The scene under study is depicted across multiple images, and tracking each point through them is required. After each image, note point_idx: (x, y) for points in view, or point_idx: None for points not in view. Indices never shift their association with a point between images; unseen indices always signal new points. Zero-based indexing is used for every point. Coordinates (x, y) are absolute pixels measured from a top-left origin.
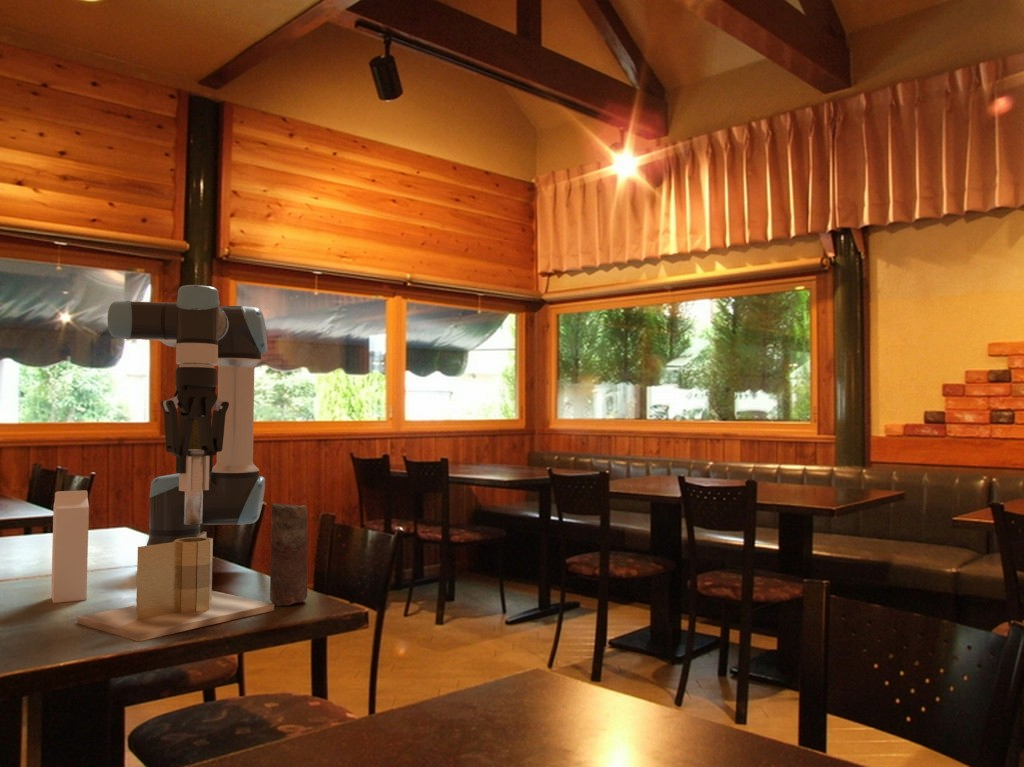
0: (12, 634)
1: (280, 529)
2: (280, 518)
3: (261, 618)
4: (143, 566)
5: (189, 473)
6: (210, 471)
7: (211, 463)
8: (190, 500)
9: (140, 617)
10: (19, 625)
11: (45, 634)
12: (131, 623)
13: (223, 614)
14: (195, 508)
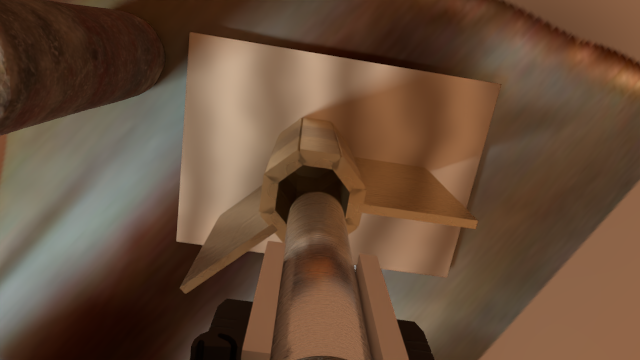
0: (531, 293)
1: (65, 48)
2: (40, 49)
3: (259, 4)
4: (448, 200)
5: (379, 301)
6: (232, 301)
7: (216, 329)
8: (348, 242)
9: (421, 168)
10: (487, 330)
11: (514, 253)
12: (446, 160)
13: (315, 60)
14: (333, 216)
